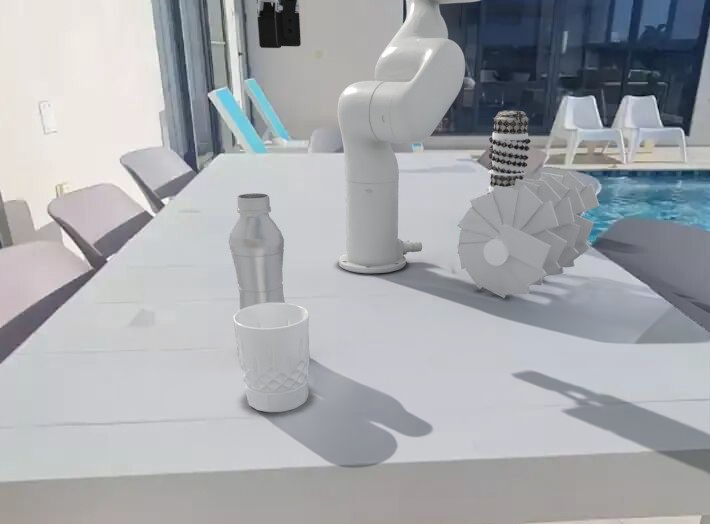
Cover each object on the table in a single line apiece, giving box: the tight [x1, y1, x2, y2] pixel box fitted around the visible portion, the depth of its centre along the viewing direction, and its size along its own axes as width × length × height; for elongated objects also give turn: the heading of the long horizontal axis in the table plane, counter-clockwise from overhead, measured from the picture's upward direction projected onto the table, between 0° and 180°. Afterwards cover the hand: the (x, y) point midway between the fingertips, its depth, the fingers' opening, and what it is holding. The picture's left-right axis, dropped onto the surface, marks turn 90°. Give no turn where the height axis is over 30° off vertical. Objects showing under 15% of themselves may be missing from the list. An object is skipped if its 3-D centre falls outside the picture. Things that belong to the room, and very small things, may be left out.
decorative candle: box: [487, 110, 531, 194], centre depth 147 cm, size 9×9×25 cm
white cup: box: [232, 302, 310, 413], centre depth 69 cm, size 8×8×10 cm
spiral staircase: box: [457, 170, 601, 299], centre depth 107 cm, size 18×18×25 cm
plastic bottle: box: [228, 192, 286, 310], centre depth 79 cm, size 6×7×20 cm
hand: (279, 47), depth 90 cm, fingers open, 9 cm apart
